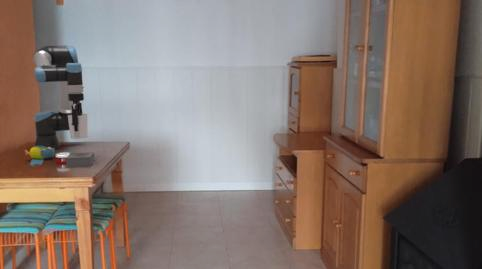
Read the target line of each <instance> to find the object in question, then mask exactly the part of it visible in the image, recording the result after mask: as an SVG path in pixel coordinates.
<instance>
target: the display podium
mask: <svg viewBox="0 0 482 269" xmlns="http://www.w3.org/2000/svg"><path fill="white" fill-rule="evenodd" d="M65 161H66V162H65V164H66V168H80V167H83V168H84V167H85V168H86V167H92V165H93V164H94V163H95V152H94V151H93V152H89V151H88V152H71V153H70V154H68V155H67V156H66V157H65Z"/></svg>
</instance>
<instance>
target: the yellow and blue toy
mask: <svg viewBox="0 0 482 269" xmlns="http://www.w3.org/2000/svg"><path fill="white" fill-rule="evenodd" d="M55 150H56V149H54V148H51V147H44V146H36V147H34V146H33V147H31V148H30V149H29V151H28V150H27V149H26V148H25V150H24V154H25V158H27V156H30V158H31V160H30V163H29V166H38V165H40V166H41V165H43V163H44V161H45V159H49V158H51V157H55V156H56V154H55Z"/></svg>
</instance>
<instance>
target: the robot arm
mask: <svg viewBox="0 0 482 269" xmlns="http://www.w3.org/2000/svg"><path fill="white" fill-rule="evenodd" d="M32 57H33V58H32V59H33V63H34V64H35V65H36V67H35V68H34V69H33V71H34V80H35V82H36V83H49V82H50V83H51V82H53V83H57V82H58V86H59V99H60V100H59V102H60V106H59V107H60V108H58V110H57V112H55V110H48V111H45V110H44V111H41V112H38V113H36V114H35V115H34V123H35V136H36V137H35V142H34V145H33V147H36V146H44V147H51V148H54V149H55V150H57V149H60V148H61V142H60V141H59V138H58V137H57V132H61V131H62V132H63V131H70V129H69V122H68V115H72V125H73V128H74V138H79V137H80V131H79V125H78V124H79V123H78V117H77V116H82V114H84V113H83V107H82V105H83V104H82V102H83V101H84V100H85V96H84V88H85V86H84V85H83V84H84V83H83V68H82V63H81V62H80V63H79V59H78V54H77V50H76V48H75V46H74V45H67V44H65V45H45V46H41V47H40V48H38V49H37V50H35V51H34V53H33V56H32ZM54 66H55V67H54Z"/></svg>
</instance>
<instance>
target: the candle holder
mask: <svg viewBox="0 0 482 269" xmlns="http://www.w3.org/2000/svg"><path fill="white" fill-rule="evenodd" d="M77 117H78V123H79V124H78V125H79V131H80V137H79V138H74V128H73V125H72V115H68V122H69V129H70V130H69V137H70V139H72V140H73V139H74V140H77V139H78V140H79V139H86V138H88V114H87V113H83V114H82V116H77Z"/></svg>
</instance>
